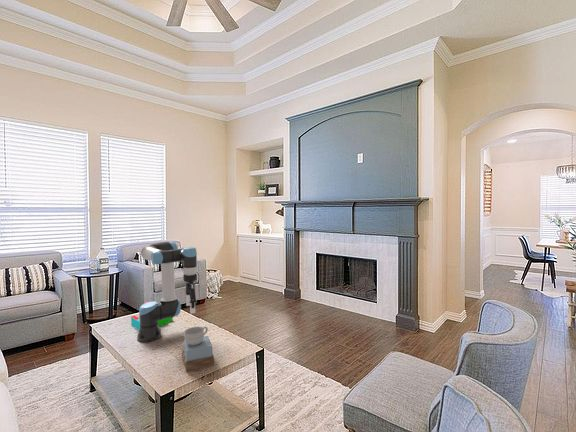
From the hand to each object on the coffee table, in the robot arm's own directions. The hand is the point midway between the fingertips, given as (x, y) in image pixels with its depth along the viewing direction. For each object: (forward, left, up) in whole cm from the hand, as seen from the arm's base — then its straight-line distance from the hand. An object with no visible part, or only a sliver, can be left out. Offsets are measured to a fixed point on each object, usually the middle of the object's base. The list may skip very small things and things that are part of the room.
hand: (190, 309), depth 178 cm
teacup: (+6, +2, -18) cm, 19 cm away
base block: (+7, +2, -30) cm, 31 cm away
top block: (+7, +2, -24) cm, 25 cm away
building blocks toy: (-70, -17, -30) cm, 78 cm away
